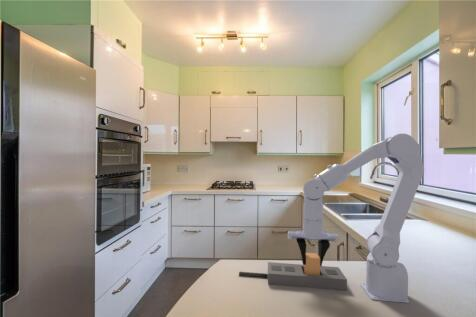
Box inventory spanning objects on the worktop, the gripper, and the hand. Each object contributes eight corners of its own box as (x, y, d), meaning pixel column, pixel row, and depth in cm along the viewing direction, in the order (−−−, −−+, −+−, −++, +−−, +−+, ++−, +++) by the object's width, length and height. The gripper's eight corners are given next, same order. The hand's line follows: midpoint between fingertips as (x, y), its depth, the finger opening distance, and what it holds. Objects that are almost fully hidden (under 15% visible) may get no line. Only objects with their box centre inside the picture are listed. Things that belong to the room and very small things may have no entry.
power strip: (338, 276, 77) (338, 266, 77) (346, 290, 69) (347, 279, 69) (240, 269, 81) (240, 259, 81) (237, 281, 73) (237, 270, 73)
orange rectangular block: (316, 276, 76) (317, 253, 76) (319, 282, 72) (320, 258, 72) (303, 275, 77) (304, 252, 77) (305, 281, 73) (306, 257, 73)
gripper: (334, 217, 78) (333, 260, 78) (287, 214, 79) (286, 257, 79) (341, 222, 71) (339, 270, 71) (289, 220, 72) (288, 266, 72)
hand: (311, 264), depth 74 cm, fingers closed on orange rectangular block, 4 cm apart
